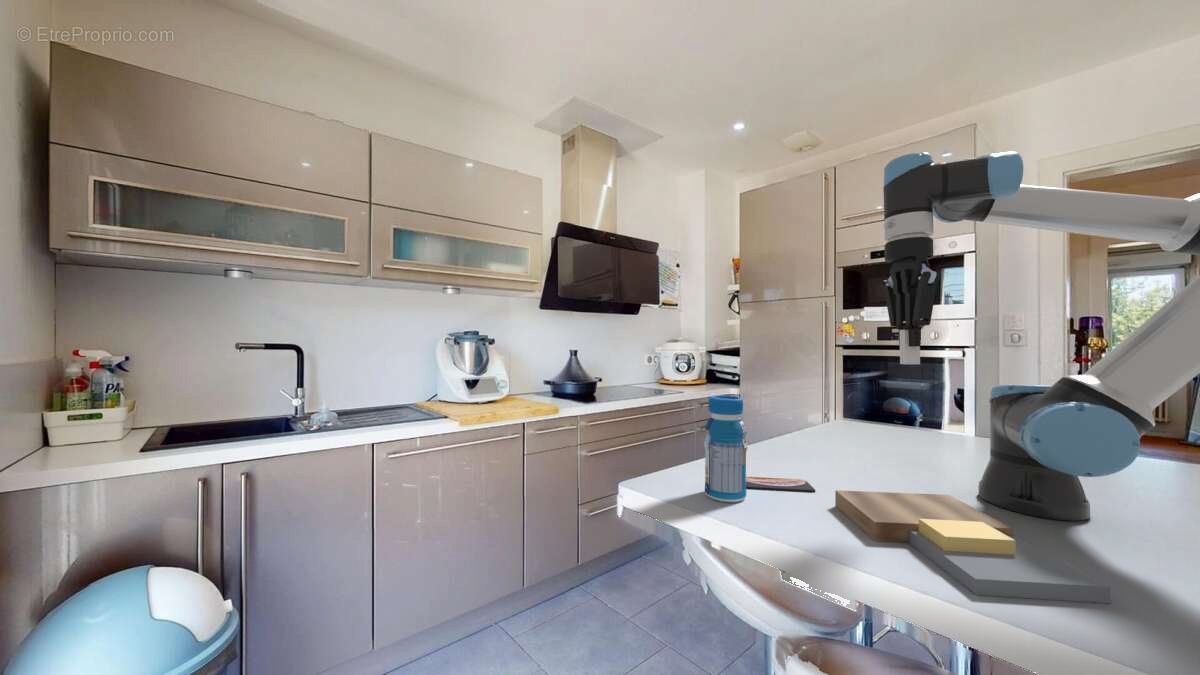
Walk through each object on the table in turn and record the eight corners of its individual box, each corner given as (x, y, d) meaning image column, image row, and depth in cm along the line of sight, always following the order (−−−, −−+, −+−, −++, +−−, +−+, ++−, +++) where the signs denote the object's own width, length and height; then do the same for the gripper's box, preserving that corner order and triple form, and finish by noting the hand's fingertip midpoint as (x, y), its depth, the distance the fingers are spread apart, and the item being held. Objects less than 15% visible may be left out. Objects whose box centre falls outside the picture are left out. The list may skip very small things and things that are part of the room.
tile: (982, 534, 65) (982, 521, 65) (1015, 554, 59) (1015, 540, 59) (918, 531, 66) (918, 518, 66) (945, 550, 60) (945, 536, 60)
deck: (948, 510, 79) (948, 494, 79) (1013, 547, 65) (1013, 528, 65) (835, 506, 81) (835, 490, 81) (874, 540, 67) (874, 521, 67)
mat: (1014, 548, 65) (1014, 535, 65) (1109, 603, 52) (1109, 586, 52) (909, 543, 67) (909, 530, 67) (975, 594, 53) (975, 578, 53)
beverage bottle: (721, 506, 81) (722, 401, 81) (695, 491, 89) (695, 395, 89) (756, 500, 84) (756, 399, 84) (728, 486, 92) (728, 393, 92)
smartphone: (736, 475, 98) (805, 479, 96) (736, 479, 98) (805, 483, 96) (742, 486, 91) (817, 490, 88) (742, 490, 91) (817, 494, 88)
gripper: (867, 247, 87) (869, 362, 87) (912, 231, 74) (914, 366, 74) (904, 247, 87) (906, 362, 87) (956, 230, 74) (958, 366, 74)
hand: (909, 363), depth 81 cm, fingers closed
